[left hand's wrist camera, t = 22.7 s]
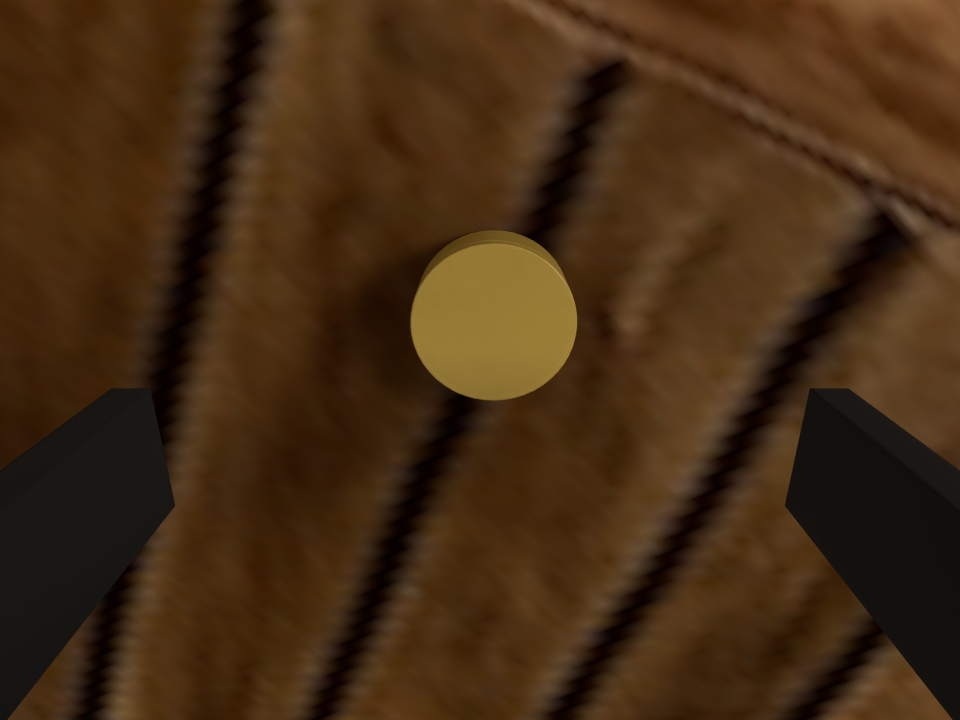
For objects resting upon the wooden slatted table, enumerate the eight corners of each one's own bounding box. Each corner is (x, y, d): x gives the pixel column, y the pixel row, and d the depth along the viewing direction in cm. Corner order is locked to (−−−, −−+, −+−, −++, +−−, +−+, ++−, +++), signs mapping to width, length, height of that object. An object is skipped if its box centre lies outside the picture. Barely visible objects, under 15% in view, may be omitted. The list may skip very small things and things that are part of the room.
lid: (505, 401, 19) (507, 428, 17) (387, 319, 18) (377, 341, 16) (600, 291, 18) (612, 311, 16) (478, 196, 17) (477, 207, 15)
